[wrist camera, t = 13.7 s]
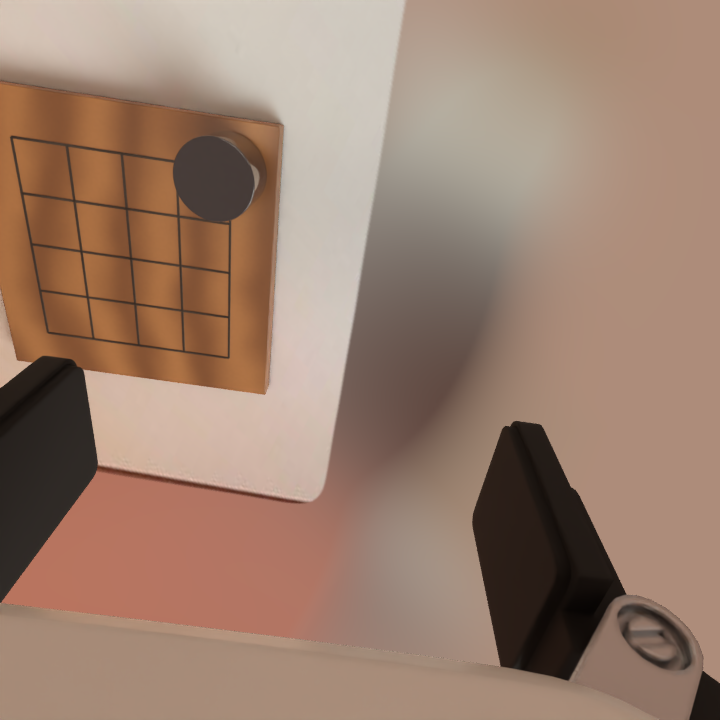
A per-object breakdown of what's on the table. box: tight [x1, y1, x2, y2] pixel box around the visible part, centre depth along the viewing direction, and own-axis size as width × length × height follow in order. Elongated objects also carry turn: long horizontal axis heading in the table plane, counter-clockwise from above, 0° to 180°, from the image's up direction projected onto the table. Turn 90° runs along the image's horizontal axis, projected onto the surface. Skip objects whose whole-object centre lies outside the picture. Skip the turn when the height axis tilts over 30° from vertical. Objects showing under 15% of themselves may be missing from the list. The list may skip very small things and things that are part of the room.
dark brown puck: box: [173, 131, 267, 222], centre depth 30 cm, size 5×5×4 cm
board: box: [0, 81, 284, 395], centre depth 36 cm, size 20×20×2 cm
